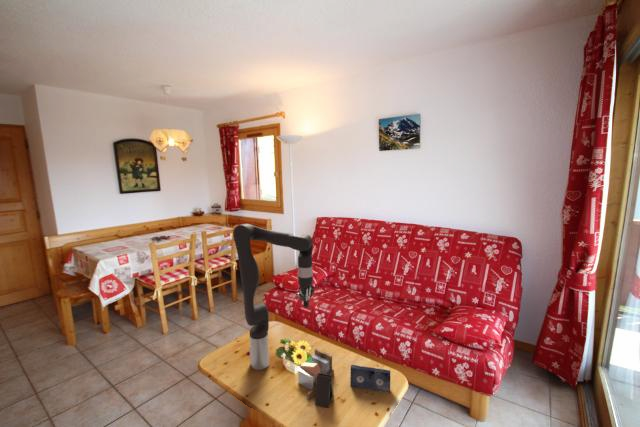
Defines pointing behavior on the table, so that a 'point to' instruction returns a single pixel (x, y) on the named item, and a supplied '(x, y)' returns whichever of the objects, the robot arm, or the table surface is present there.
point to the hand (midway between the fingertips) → (306, 306)
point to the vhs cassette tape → (370, 378)
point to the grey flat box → (306, 378)
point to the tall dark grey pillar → (321, 367)
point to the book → (311, 368)
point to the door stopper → (323, 390)
